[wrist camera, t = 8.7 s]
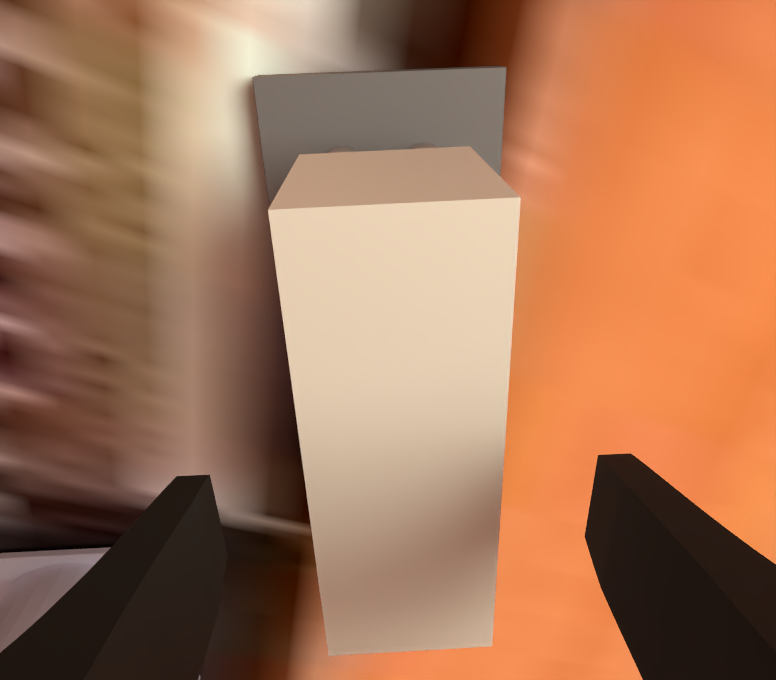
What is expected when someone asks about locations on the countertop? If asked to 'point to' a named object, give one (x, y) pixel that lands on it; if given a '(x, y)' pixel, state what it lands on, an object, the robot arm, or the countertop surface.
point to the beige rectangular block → (400, 386)
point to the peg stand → (378, 114)
